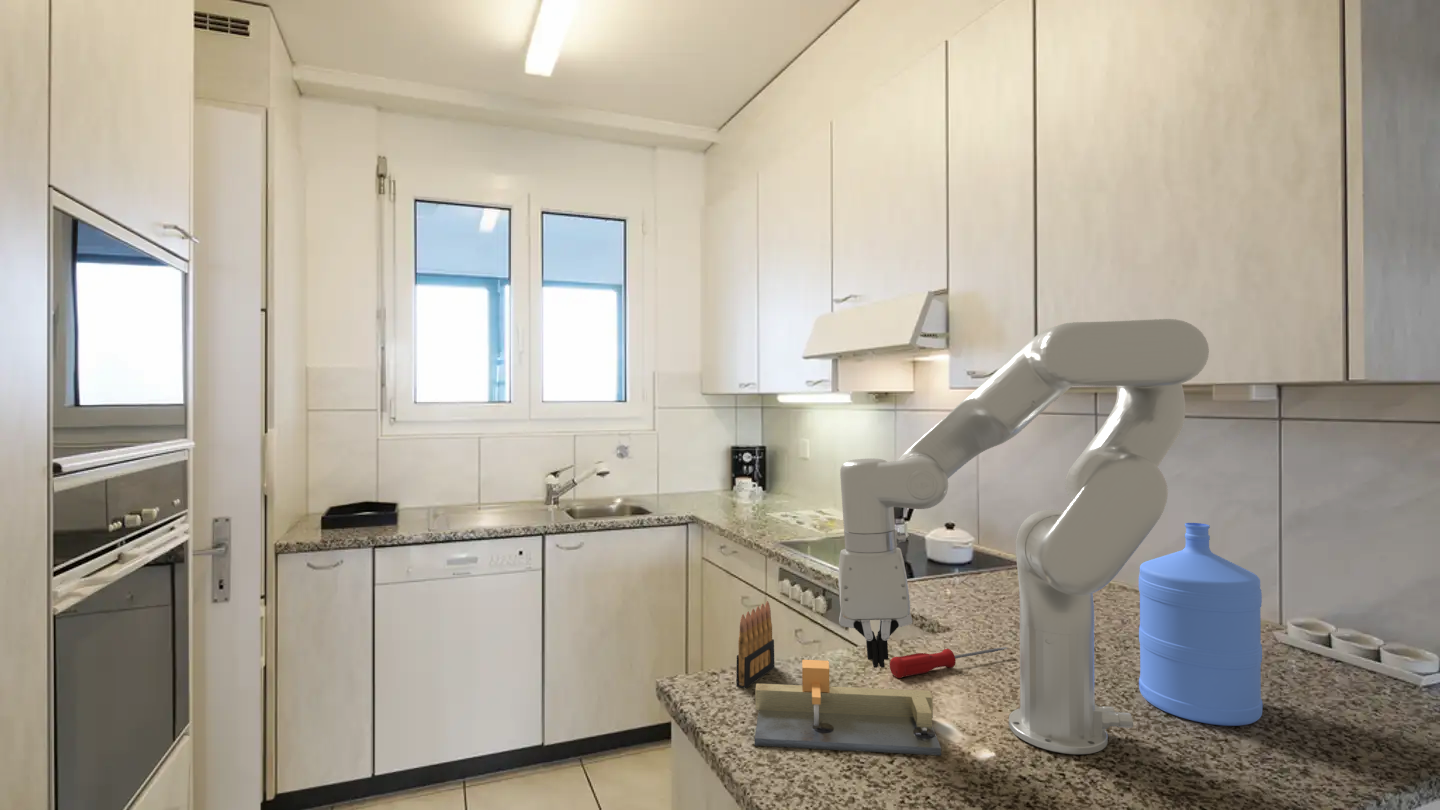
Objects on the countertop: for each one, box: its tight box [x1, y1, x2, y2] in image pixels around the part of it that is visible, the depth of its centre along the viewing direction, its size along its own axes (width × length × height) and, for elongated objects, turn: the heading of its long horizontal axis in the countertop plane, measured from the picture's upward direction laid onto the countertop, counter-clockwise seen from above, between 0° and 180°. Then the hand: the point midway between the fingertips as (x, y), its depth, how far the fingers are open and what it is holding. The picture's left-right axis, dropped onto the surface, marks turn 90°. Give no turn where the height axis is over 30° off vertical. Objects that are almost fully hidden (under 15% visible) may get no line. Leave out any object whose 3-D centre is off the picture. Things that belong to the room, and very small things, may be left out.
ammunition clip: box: [735, 600, 775, 689], centre depth 119 cm, size 11×2×12 cm, turn 148°
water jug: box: [1138, 522, 1264, 727], centre depth 106 cm, size 16×16×28 cm
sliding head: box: [801, 659, 830, 726], centre depth 101 cm, size 4×8×6 cm, turn 173°
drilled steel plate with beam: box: [754, 683, 942, 756], centre depth 100 cm, size 26×14×4 cm, turn 83°
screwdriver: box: [889, 646, 1009, 679], centre depth 122 cm, size 4×25×4 cm, turn 112°
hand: (878, 664), depth 102 cm, fingers closed
